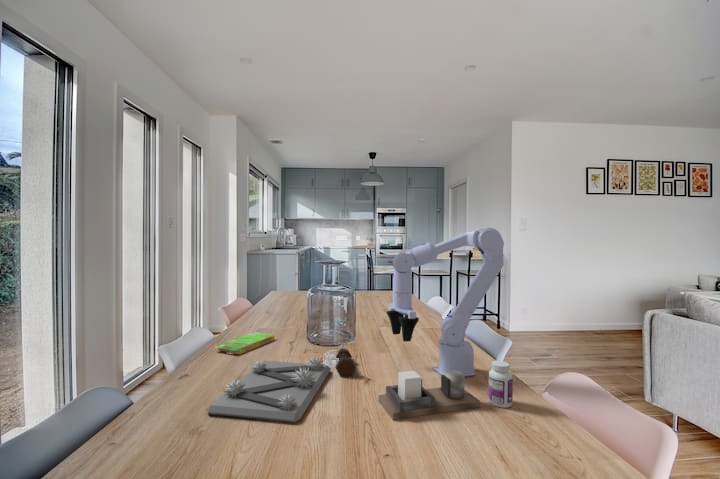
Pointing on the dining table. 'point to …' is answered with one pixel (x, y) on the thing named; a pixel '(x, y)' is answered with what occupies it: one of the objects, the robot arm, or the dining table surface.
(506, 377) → the pill bottle
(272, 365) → the grey spiky zigzag board
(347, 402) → the dining table surface
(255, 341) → the game box
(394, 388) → the brown board with socket
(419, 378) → the white block
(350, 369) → the bolt
